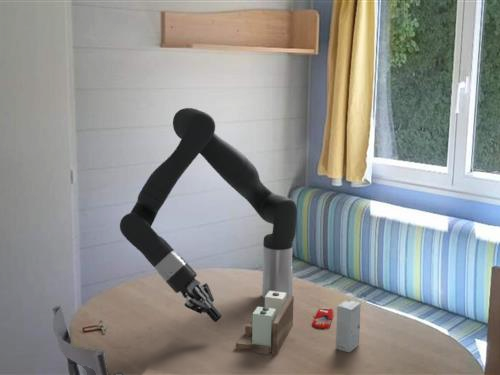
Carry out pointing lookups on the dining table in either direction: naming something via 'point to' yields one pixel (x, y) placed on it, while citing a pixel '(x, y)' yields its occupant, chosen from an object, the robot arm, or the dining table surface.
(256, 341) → the pale green dotted block
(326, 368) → the dining table surface
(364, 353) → the dining table surface
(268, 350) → the wooden divided rack
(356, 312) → the skincare box
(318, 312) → the race car
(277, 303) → the white dotted block
